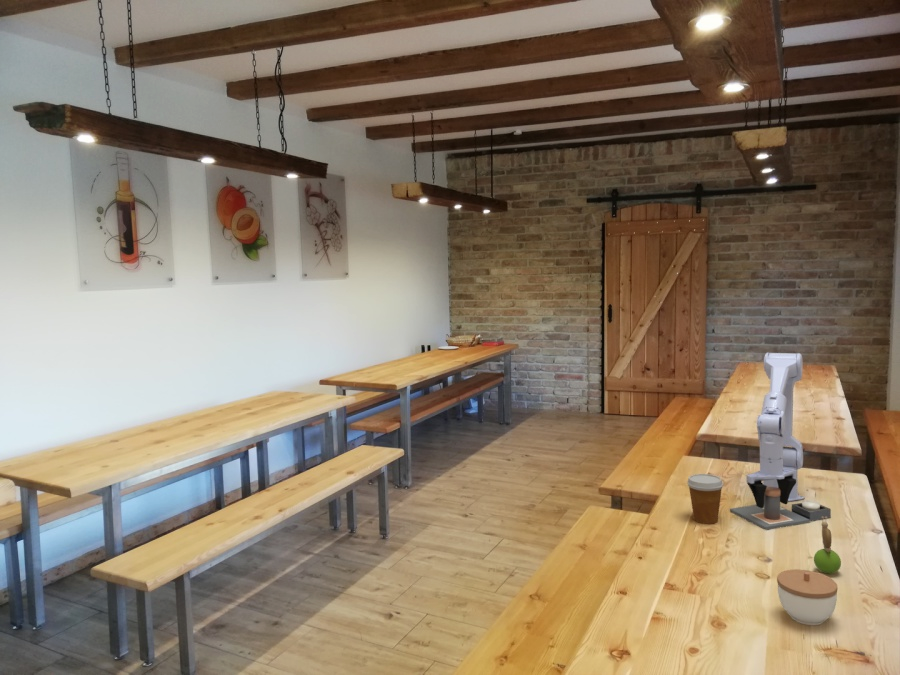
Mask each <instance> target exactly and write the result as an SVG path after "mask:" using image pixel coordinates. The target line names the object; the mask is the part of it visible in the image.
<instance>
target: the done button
mask: <svg viewBox="0 0 900 675" xmlns="http://www.w3.org/2000/svg"><path fill="white" fill-rule="evenodd" d="M801 503H802V508H805V509H807V510H809V511H813V510H819V509H820V505H821V504H820V502H819V501H815V500H803V501H801Z"/></svg>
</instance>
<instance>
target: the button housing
mask: <svg viewBox="0 0 900 675" xmlns="http://www.w3.org/2000/svg"><path fill="white" fill-rule="evenodd" d="M791 511H792V512H794V513H796V514H798V515H800V516H803V517H805V518H807V519H809V520H810V522H815V521H821V520H822V521H823V520H827V519H831V517H832V514H831V511H832V510H831V508H829V507H827V506H825V505H822V504H820V509H819V510H813V511H809V510H807V509H805V508H802V502H797V503H791ZM822 516H823V517H824V519H822V518H821V517H822ZM825 517H827V519H825Z"/></svg>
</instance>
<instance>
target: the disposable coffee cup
mask: <svg viewBox="0 0 900 675" xmlns="http://www.w3.org/2000/svg"><path fill="white" fill-rule="evenodd" d="M686 482H687V483H686V484H687V486H688V489H689V495H690V501H691V509H692V514H693V521H695V522H697V523H698V524H705V525H713V524H716V523H717V522H718V520H719V514H720V505H721V497H722V495H721V494H722V489H723V486H724V482H723V480H722V478H721V477H720V476H718V475H714V474H710V473H708V474H707V473H697V474H692V475H690V476H688V478H687V481H686Z"/></svg>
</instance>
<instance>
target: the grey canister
mask: <svg viewBox="0 0 900 675" xmlns="http://www.w3.org/2000/svg"><path fill="white" fill-rule="evenodd" d="M780 507H781V502H780V489H779V488H776V487H767V488H766V491H765V495H764V517H765V518H766V519H770V520H778V519H780Z"/></svg>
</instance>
